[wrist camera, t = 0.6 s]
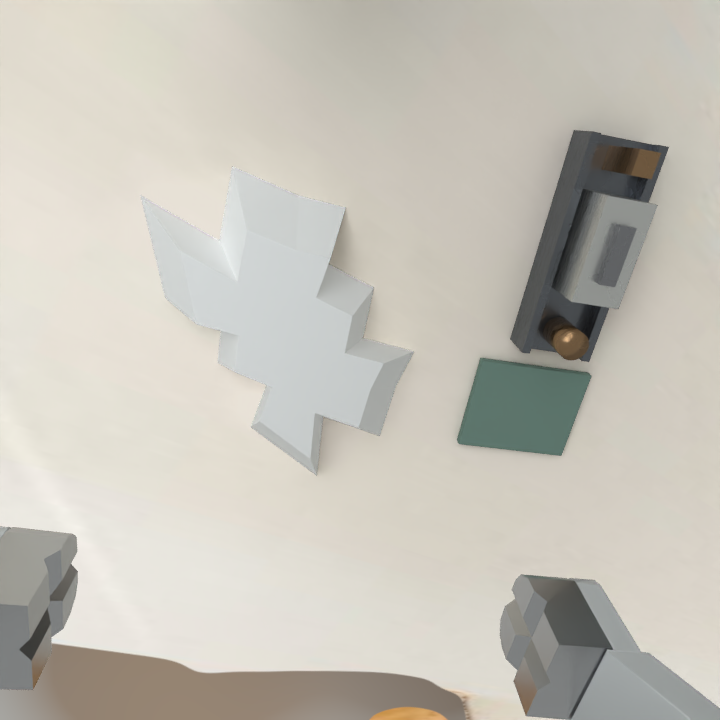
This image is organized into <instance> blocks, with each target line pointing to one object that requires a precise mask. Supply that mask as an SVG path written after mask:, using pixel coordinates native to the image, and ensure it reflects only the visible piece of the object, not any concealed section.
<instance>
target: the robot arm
mask: <svg viewBox="0 0 720 720" xmlns="http://www.w3.org/2000/svg"><path fill="white" fill-rule="evenodd" d="M76 553H77V537H76V536H75V535H74V534H70V533H61V532H52V531H43V530H35V529H26V528H17V527H12V528H10V527H2V526H0V689H12V690H33V689H34V687H35V685H36V683H37V681H38V679H39V677H40V675H41V673H42V671H43V669H44V667H45V665H46V663H47V661H48V659H49V657H50V655H51V653H52V644H51V637H52V636H54V635H55V634H57V633H58V632H59V631H61V630H62V629H63V628H64V626H65V624H66V622H67V620H68V618H69V615H70V613H71V610H72V606H73V603H74V600H75V597H76V591H77V583H78V571H77V570H76V569H75V568H74V567H73V566H72V564H71V563H72V561H73V559H74V557H75V555H76ZM512 591H513V594H514V596H515V599H514V600H513V601H512V602H510V603H509V604H508V605H506V606H505V608H504V611H503V614H502V617H501V620H500V639H501V645H502V649H503V652H504V655H505V658H506V659H507V660H508V661H509V662H510V663H511V664H512V665H513V666H514V667H515V668H516V669H517V673H516V676H515V679H514V684H515V687H516V689H517V692H518V695H519V698H520V701H521V703H522V706H523V709H524V712H525V715H526V716H531V717H543V718H555V719H567V720H720V708H719V707H717V706H716V705H715V704H714V703H712V702H711V701H710V700H708V699H707V698H706V697H705V696H703V695H702V694H701V693H700V692H698V691H697V690H696V689H694V688H693V687H692V686H691V685H689V684H688V683H687V682H685V681H684V680H683V679H682V678H680V677H679V676H678V675H677V674H675V673H674V672H673V671H671V670H670V669H669V668H668V667H666V666H665V665H664V664H663V663H661V662H660V661H659V660H657V659H656V658H655V657H654V656H652V655H651V654H650V653H646V652H641V651H640V649H639V648H638V646H637V644H636V643H635V641H634V639H633V638H632V636H631V634H630V633H629V631H628V629H627V628H626V626H625V625H624V623H623V621H622V620H621V618H620V616H619V615H618V613H617V611H616V610H615V608H614V607H613V605H612V603H611V602H610V600H609V598H608V597H607V595H606V593H605V592H604V590H603V588H602V587H601V585H600V584H599V583H597V582H596V581H595V580H587V579H573V578H569V579H567V578H558V577H546V576H533V575H520V576H519V577H518V578H517V579H516V580H515V583H514V585H513V587H512Z"/></svg>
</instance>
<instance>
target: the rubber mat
mask: <svg viewBox="0 0 720 720" xmlns="http://www.w3.org/2000/svg"><path fill="white" fill-rule="evenodd" d="M590 379H591V375H590V374H589V373H587V372H579V371H572V370H565V369H558V368H551V367H543V366H536V365H529V364H522V363H514V362H507V361H500V360H493V359H486V358H480V362H479V365H478V369H477V372H476V376H475V379H474V383H473V386H472V390H471V393H470V396H469V400H468V403H467V407H466V410H465V414H464V417H463V421H462V424H461V428H460V431H459V435H458V438H457V441H458V443H459V444H464V445H472V446H481V447H490V448H498V449H507V450H516V451H524V452H533V453H542V454H550V455H559V456H561V455H562V453H563V450H564V447H565V445H566V442H567V439H568V437H569V434H570V431H571V429H572V426H573V424H574V421H575V418H576V416H577V413H578V410H579V408H580V405H581V402H582V400H583V397H584V394H585V392H586V389H587V386H588V384H589V381H590Z"/></svg>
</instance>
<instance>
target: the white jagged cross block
mask: <svg viewBox="0 0 720 720" xmlns="http://www.w3.org/2000/svg"><path fill="white" fill-rule="evenodd" d="M140 196H141V195H140ZM141 200H142V204H143V208H144V212H145V217H146V221H147V225H148V229H149V233H150V237H151V241H152V246H153V250H154V254H155V258H156V262H157V266H158V270H159V275H160V279H161V283H162V287H163V291H164V295H165V298H166V299H167V300H168V301H169V302H171V303H172V304H173V305H174V306H175V307H176V308H178V309H179V310H180V311H181V312H182V313H184V314H185V315H186V316H187V317H188V318H190V319H191V320H192V321H193V322H194V323H195V324H197V325H201V326H205V327H208V328H212V329H216V330H219V331H221V332H220V343H219V354H218V363H219V364H221V365H223V366H225V367H226V368H228V369H230V370H232V371H234V372H236V373H238V374H241V375H243V376H245V377H248V378H250V379H253V380H255V381H258V382H260V383H262V384H265V385H266V387H265V390H264V392H263V395H262V398H261V401H260V403H259V406H258V409H257V411H256V414H255V417H254V419H253V422H252V425H251V428H253V429H254V430H255V431H257V432H258V433H259V434H261V435H262V436H263V437H265V438H266V439H267V440H269V441H270V442H272V443H273V444H274V445H276V446H277V447H278V448H280V449H281V450H282V451H284V452H285V453H287V454H288V455H289V456H291V457H292V458H293V459H295V460H296V461H297V462H299V463H300V464H301V465H303V466H304V467H306V468H307V469H308V470H310V471H311V472H312V473H314V474H315V475H316V476H317V470H318V461H319V451H320V442H321V432H322V423H323V417H326V418H329V419H332V420H335V421H338V422H340V423H343V424H346V425H349V426H352V427H355V428H358V429H361V430H364V431H366V432H369V433H372V434H375V435H378V436H380V433H381V430H382V427H383V424H384V421H385V418H386V415H387V412H388V409H389V406H390V403H391V400H392V397H393V394H394V390H395V387H396V385H397V383H398V381H399V379H400V377H401V376H402V374H403V372H404V370H405V368H406V366H407V364H408V362H409V360H410V358H411V357H412V355H413V353H414V351H411V350H407V349H403V348H400V347H396V346H392V345H388V344H384V343H380V342H377V341H373V340H369V339H365V338H363V335H364V331H365V326H366V322H367V317H368V313H369V308H370V304H371V299H372V295H373V290H374V287H372V286H370V285H368V284H366V283H364V282H363V281H361V280H359V279H357V278H355V277H353V276H351V275H349V274H347V273H345V272H343V271H341V270H339V269H337V268H335V267H333V266H331V265H329V261H330V259H331V255H332V252H333V249H334V245H335V242H336V239H337V235H338V232H339V229H340V225H341V222H342V219H343V215H344V212H345V209H346V207H342V206H338V205H334V204H330V203H326V202H322V201H318V200H314V199H311V198H307V197H303V196H299V195H297V194H294V193H292V192H290V191H288V190H285V189H283V188H281V187H278V186H276V185H274V184H272V183H269V182H267V181H265V180H262V179H260V178H258V177H256V176H253V175H251V174H249V173H246V172H244V171H242V170H240V169H237V168H235V167H233V166H232V170H231V176H230V182H229V187H228V193H227V199H226V205H225V211H224V217H223V222H222V228H221V234H220V240H218V239H216V238H215V237H213V236H211V235H209V234H208V233H206V232H204V231H202V230H201V229H199V228H197V227H195V226H194V225H192V224H190V223H188V222H187V221H185V220H183V219H181V218H180V217H178V216H176V215H175V214H173V213H171V212H169V211H168V210H166V209H164V208H162V207H161V206H159V205H157V204H155V203H154V202H152V201H150V200H148V199H147V198H145V197H143V196H141Z"/></svg>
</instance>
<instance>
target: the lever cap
mask: <svg viewBox="0 0 720 720" xmlns="http://www.w3.org/2000/svg"><path fill="white" fill-rule="evenodd" d="M657 206H658V205H656V204H652V203H648V202H645V201H641V200H637V199H634V198H630V197H626V196H621V195H615V194H610V193H605V192H599V191H594V190H589V189H584V188H583V190H582V194H581V197H580V200H579V203H578V206H577V209H576V212H575V215H574V218H573V221H572V224H571V227H570V231H569V234H568V237H567V240H566V243H565V246H564V249H563V252H562V255H561V258H560V261H559V265H558V268H557V271H556V274H555V277H554V280H553V283H552V286H551V287H552V288H553V289H555V290H556V291H558V292H559V293H560V294H562V295H563V296H564V297H566V298H567V299H568V300H570V301H571V302H576V303H582V304H589V305H595V306H601V307H608V308H614V309H619V306H620V303H621V301H622V298H623V295H624V293H625V290H626V287H627V285H628V282H629V279H630V277H631V274H632V272H633V269H634V266H635V264H636V261H637V258H638V256H639V253H640V250H641V248H642V245H643V243H644V240H645V237H646V235H647V232H648V229H649V227H650V224H651V221H652V219H653V216H654V214H655V211H656V208H657Z"/></svg>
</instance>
